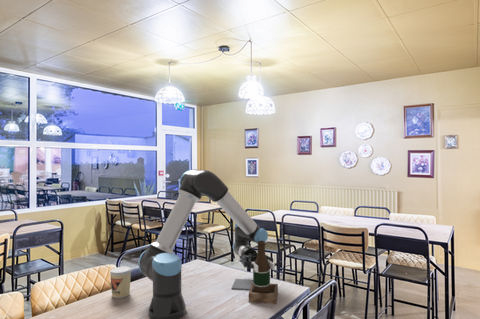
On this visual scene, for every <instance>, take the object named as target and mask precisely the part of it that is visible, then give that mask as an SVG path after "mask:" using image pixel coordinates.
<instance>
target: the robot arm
mask: <svg viewBox="0 0 480 319" xmlns="http://www.w3.org/2000/svg"><path fill="white" fill-rule="evenodd" d="M177 192H178V194H179V195H178V197H177V199H176V201H175V203H174V205H173V207H172V209H171V211H170V213H169V215H168V217H167V218H166V221H165V223H164V224H163V227H162V229H161V230H160V232H159V234H158V236H157V239H156V240H155V241H153V242H151V244H149V247H148V249H146V250H145V251H143V252H142V253H141V254H140V256H139V258H138V264H137V265H138V269H139V271H140V273H142V275H143V276H144V277H146V278H147V279H149V280H150V281H152V298H151V302H150V304H149V307H148V317H149V319H180V318H182V317H184V316H185V314H186V311H187V305H186V301H185V299H184V297H183V293H182V260H181V257H180V256H179V255H178V254H176V253H174V247H175V246H176V243H177V241H178V240H179V238H180V235H181V233H182V231H183V229H184V227H185V225H186V223H187V221H188V218H189V217H190V214H191V212H192V210H193V209H194V207H195V204H196V203H198V202H200V201H201V200H202V197H203V196H204V197H206V198H208V199H210V200H211V202H213V203H216V204H217V205H218V206H219V207H220V208H221V209H222V210H223V211H224V212H225V214H226V215H227V216H228V217H229V218H230V219H231V220H232V221H233V222H234V243H233V244H232V249H233V250H232V251H233V252H234V253H235V254H236V255H237V256H238V257H239V262H240V263H241V264H242V265H243V267H244V268H248V270H251V269H252V271H253V270H255V271H256V272H258V265H256V264H255V263H254V262H255V260H256V259H257V250H256V249H255V248H253V247H252V246H250V245H249V244H250V243H249V241H250V242H253V243H255V244H257V242H258V241H264V242H265V243H266V242H267V241H268V238H269V235H268V234H269V232H268V231H267V230H266V229H264V228H262V227H260V226H259V225H258V224H257V222H255V221H254V219H253V218H252V217H251V215H249V213H248V212H247V211H246V210H245V208H243V207H242V205H241V204H240V203H239V202H238V201H237V200H236V199H235V198H234V196H233V195H232V194H231V192H229V186H227V185H226V184H225V183H224V182H223V181H222V179H221V178H220V177H219V176H217V174H215V173H213V172H212V171H210V170H206V169H189V170H187V171H185V172H183V173H182V175H181V177H180V178H179V188H178V191H177ZM265 256H266V260H267V261H268V263H269V266H270V270H272V271H275V263H274V258H273V257H271V256H268V255H267V254H266V253H265Z"/></svg>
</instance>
